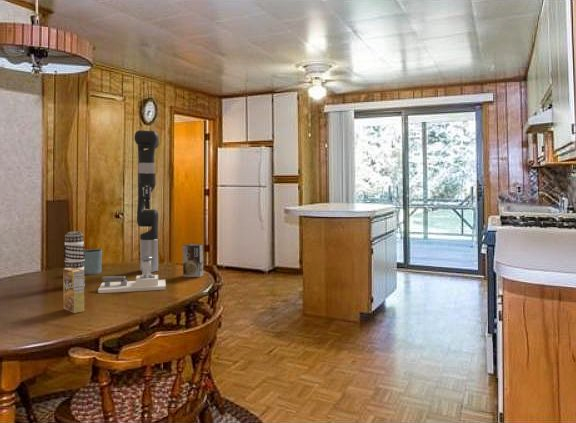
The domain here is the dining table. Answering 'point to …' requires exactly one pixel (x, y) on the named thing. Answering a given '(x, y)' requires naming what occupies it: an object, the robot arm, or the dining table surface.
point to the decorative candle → (74, 250)
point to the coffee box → (193, 260)
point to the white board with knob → (133, 285)
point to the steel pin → (146, 267)
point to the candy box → (73, 289)
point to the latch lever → (114, 278)
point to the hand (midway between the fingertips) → (147, 208)
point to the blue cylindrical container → (92, 261)
